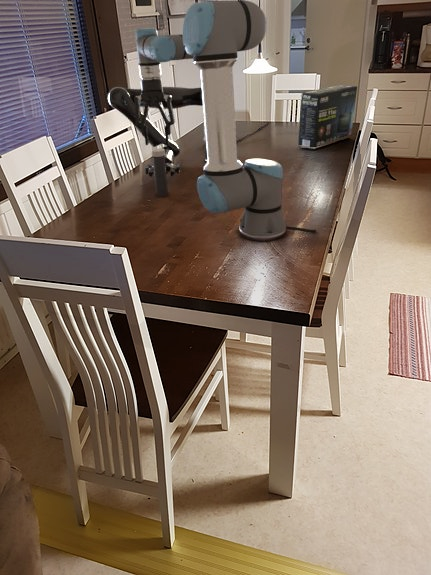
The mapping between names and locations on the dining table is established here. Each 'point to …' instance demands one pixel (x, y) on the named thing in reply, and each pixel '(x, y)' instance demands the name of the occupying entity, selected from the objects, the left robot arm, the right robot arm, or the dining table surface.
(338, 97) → the router box
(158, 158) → the dark grey column
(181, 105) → the left robot arm
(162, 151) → the lid
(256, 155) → the dining table surface
